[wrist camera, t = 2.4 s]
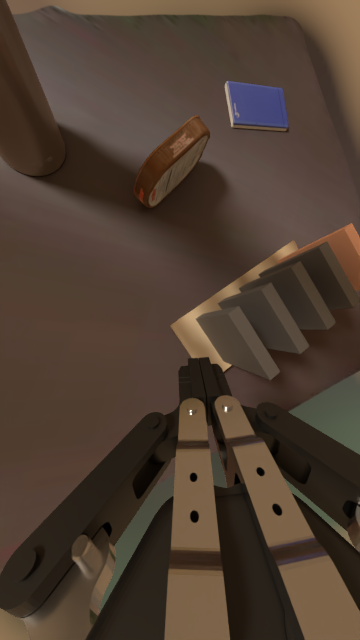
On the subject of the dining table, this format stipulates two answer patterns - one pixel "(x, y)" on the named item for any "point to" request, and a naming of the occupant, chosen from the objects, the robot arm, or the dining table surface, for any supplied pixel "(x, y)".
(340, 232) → the domino
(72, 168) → the dining table surface
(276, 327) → the domino
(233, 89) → the blue notebook
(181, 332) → the board
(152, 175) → the tin
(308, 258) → the domino
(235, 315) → the domino
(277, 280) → the domino
